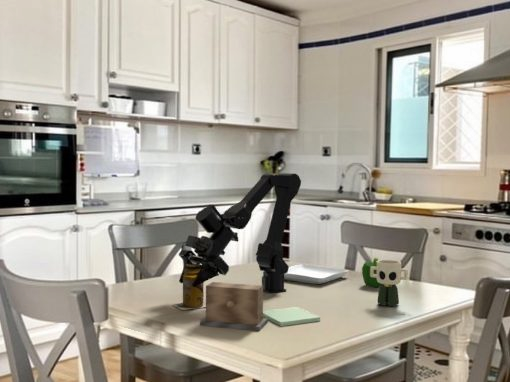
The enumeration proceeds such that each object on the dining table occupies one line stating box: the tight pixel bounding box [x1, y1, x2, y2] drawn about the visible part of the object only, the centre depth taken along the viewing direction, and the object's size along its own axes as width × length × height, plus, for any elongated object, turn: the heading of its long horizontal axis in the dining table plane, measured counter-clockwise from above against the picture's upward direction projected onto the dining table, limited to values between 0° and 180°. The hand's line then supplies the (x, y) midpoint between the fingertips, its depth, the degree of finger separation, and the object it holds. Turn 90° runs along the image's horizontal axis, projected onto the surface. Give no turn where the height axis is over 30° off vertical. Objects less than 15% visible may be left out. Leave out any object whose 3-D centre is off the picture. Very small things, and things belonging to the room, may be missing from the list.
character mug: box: [370, 259, 409, 307], centre depth 170 cm, size 11×7×13 cm, turn 69°
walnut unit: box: [199, 281, 269, 332], centre depth 149 cm, size 16×8×10 cm, turn 74°
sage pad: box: [263, 306, 321, 327], centre depth 155 cm, size 12×12×1 cm
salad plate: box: [284, 263, 350, 285], centre depth 209 cm, size 21×21×3 cm
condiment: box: [171, 264, 206, 311], centre depth 166 cm, size 7×8×12 cm
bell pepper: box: [361, 257, 381, 288], centre depth 197 cm, size 8×8×10 cm
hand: (186, 284), depth 165 cm, fingers open, 6 cm apart
